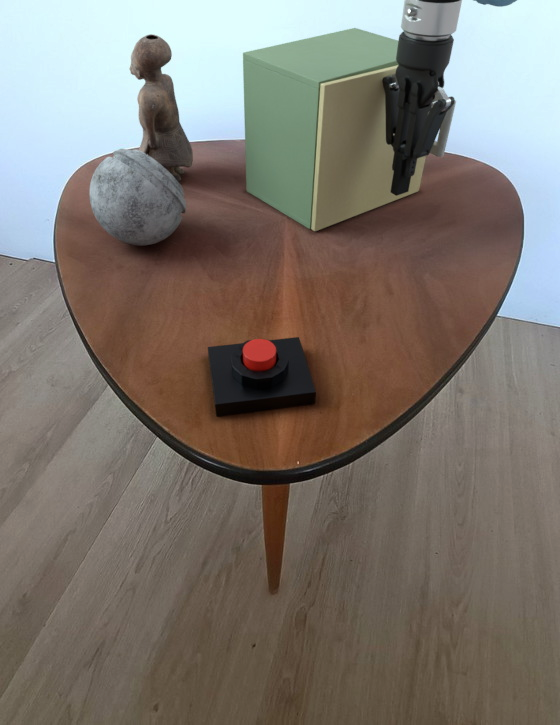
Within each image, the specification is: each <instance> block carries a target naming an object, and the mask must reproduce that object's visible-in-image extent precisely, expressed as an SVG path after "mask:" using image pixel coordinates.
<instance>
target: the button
mask: <svg viewBox="0 0 560 725" xmlns="http://www.w3.org/2000/svg"><path fill="white" fill-rule="evenodd" d="M250 340H251V341H249V342H247V343H246V344H245V346H244V347H243V362H244V365H245V366H246V367H247V368H248V369H250V370H253V371H257V372H259V371H267V370H269V369H271V368H272V367H273V366H274V365H275V363H276V347H275V345H274V344H273V343H272V342H270V341H268V340H269V339H265V338H255V339H250Z"/></svg>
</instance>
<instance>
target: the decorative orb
mask: <svg viewBox="0 0 560 725" xmlns="http://www.w3.org/2000/svg"><path fill="white" fill-rule="evenodd" d="M88 190H89V192H88V193H89V196H88V197H89V203H90V207H91V211H92V213H93V215H94V217H95V219H96V221H97V222H98V224H99V225H100V226H101V227H102V229H103V230H104V231H105V232H107V234H109V235H110V236H111V237H113V238H114V239H115V240H118V241H120V242H121V243H125V244H128V245H132V246H149V245H151V246H152V245H154V244H157V243H160V242H162V241H165V239H167V238H168V237H170V236H171V235H172V234H173V233H174V232H175V231H176V230H177V228H178V227H179V226H180V223H181V222H182V218H183V217H182V215H181V214H185V213H186V210H187V206H188V205H187V201H186V199H185V196H184V194H185V191H184V188H183V186H182V185H181V183H180V181H177V180H176V179H175V178H174V176H173V175H172V174H171V173H170V172H169V171H168V170H166V169H165V168H164V167H163V166H162V165H161V164H160V163H158V162H157V161H156V160H154V159H153V158H152V157H150V156H149V155H148V154H145V153H144V152H142V151H139V149H132V150H131V149H126V148H119V149H117V150H114V151H113V152H112V156H107V157H105V158H104V159H103V160H102V161H101V162H100V163H99V164H98V166H97V167H96V168H95V170H94V172H93V174H92V177H91V180H90V183H89V189H88Z"/></svg>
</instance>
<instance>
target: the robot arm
mask: <svg viewBox="0 0 560 725" xmlns="http://www.w3.org/2000/svg"><path fill="white" fill-rule="evenodd" d="M472 1H473V2H474V1H475V2H476V3H477V4H481V5H484V6H486V5H488V6H489V5H490V6H493V7H501V8H503V7H507V6H510V5H512V4H514V3H516V2H517V1H518V0H472ZM462 2H463V0H404V2H403V8H402V16H401V23H400V28H401V30H402V32H401V33H400V34H399V35H398V48H397V55H396V61H397V63H398V64H399V65H398V67H397V69H396V73H395V74H393V75H391V76H387V77H384V78H383V80H382V82H383V87H384V91H385V111H386V143H387V144H388V145H390V144H391V146H392V147H393V151H394V158H393V164H392V170H393V171H394V173H393V179H392V185H391V193H392V194H394V195H396V196H397V195H400V194H403V193H406V192H408V191H409V185H410V180H411V176H413V175H414V173H415V167H416V163H417V158H420V157H423V156H426V157H427V156H429V155H430V154H431V153H430V151H431V148H432V146H433V144H434V141H436V139H437V137H438V135H439V131H440V127H441V125H442V122H443V120H444V117H445V115H446V113H447V111H448V110H449V109H450V108H451V107H452V106H453V104H454V102H455V100H456V99H455V97H454V96H448V94H447V92H446V91H445V89H444V87H445V76H444V74H445V71H446V69H447V67H448V66H449V64H450V61H451V56H452V51H453V47H454V43H455V42H454V41H455V39H454V36H453V34H455V32H457V30H458V29H457V28H458V24H459V17H460V14H461V13H460V12H461V8H462ZM434 98H435V99H434ZM433 99H434V102H433ZM428 112H429V113H428ZM393 134H395V135H393Z"/></svg>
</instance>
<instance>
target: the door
mask: <svg viewBox="0 0 560 725" xmlns="http://www.w3.org/2000/svg"><path fill="white" fill-rule="evenodd" d="M397 67H398V65H397V66H393V67H389V68H384V69H380V70H376V71H372V72H368V73H364V74H359V75H355V76H351V77H347V78H343V79H338V80H334V81H330V82H326V83H322V84H321V85H320V101H319V116H318V132H317V147H316V163H315V179H314V194H313V210H312V226H311V229H310V230H311V231H312V232H317V231H319V230H323V229H325V228H327V227H330V226H333V225H336V224H338V223H340V222H343V221H346V220H349V219H351V218H353V217H356V216H359V215H361V214H364V213H367V212H369V211H372V210H374V209H376V208H379V207H382V206H384V205H387V204H390V203H393V202H394V201H397V200H400V199H402V198H405V197H407V196H410V195H413V194H415V193H417V192H419V191H420V188H421V183H422V178H423V172H424V168H425V163H426V158H427V155H426V156H423V157H420V158H417V163H416V167H415V173H414V175H413V176H411V180H410V185H409V191H408V192H406V193H403V194H400V195H397V196H396V195H394V194H392V193H391V185H392V179H393V173H394V171H393V170H392V164H393V158H394V151H393V147H392V146H391V144H390V145H388V144H387V143H386V111H385V91H384V87H383V82H382V80H383V78H384V77H387V76H391V75H393V74H395V73H396V69H397ZM434 99H435V98H434ZM434 99H433V102H434ZM456 104H457V100H456V99H455V102H454V104H453V106H452V107H451V108H450V109H449V110H448V111H447V113H446V115H445V117H444V120H443V122H442V125H441V127H440V129H439V132H438V134H437V140H435V141H434V144H433V146H432V148H431V151H430V153H429V154H431V155H432V156H435V157H439V158H441V157H444V156H445V151H446V148H447V143H448V140H449V134H450V129H451V126H452V121H453V117H454V112H455V108H456ZM428 113H429V112H428ZM393 135H395V134H393Z"/></svg>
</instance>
